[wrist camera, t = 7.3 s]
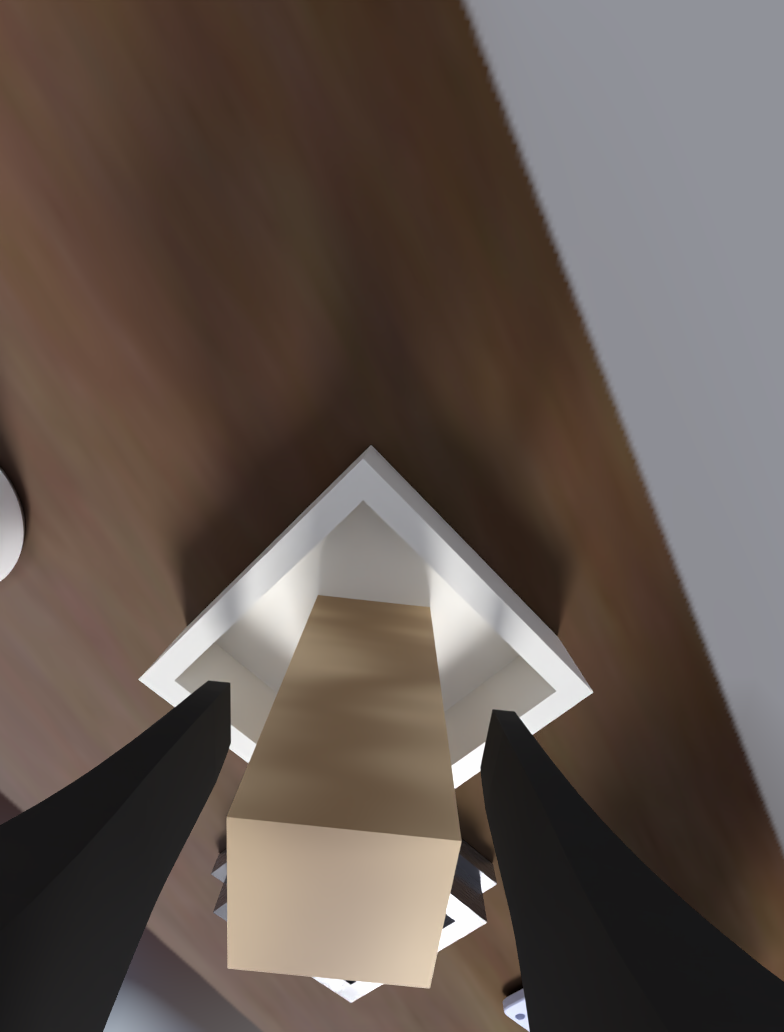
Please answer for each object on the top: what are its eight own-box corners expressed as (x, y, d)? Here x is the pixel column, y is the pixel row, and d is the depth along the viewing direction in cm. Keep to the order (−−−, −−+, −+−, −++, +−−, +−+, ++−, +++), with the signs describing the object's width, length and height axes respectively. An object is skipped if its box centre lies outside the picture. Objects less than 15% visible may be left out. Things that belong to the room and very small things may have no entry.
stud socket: (492, 864, 19) (504, 922, 17) (356, 950, 21) (351, 1012, 19) (353, 750, 17) (347, 799, 15) (218, 855, 19) (196, 911, 17)
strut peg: (430, 607, 15) (461, 841, 7) (416, 700, 16) (429, 988, 8) (317, 595, 15) (226, 816, 7) (311, 688, 16) (227, 968, 8)
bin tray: (557, 637, 16) (593, 692, 13) (370, 777, 18) (364, 851, 15) (371, 444, 14) (362, 458, 11) (186, 627, 16) (138, 679, 13)
